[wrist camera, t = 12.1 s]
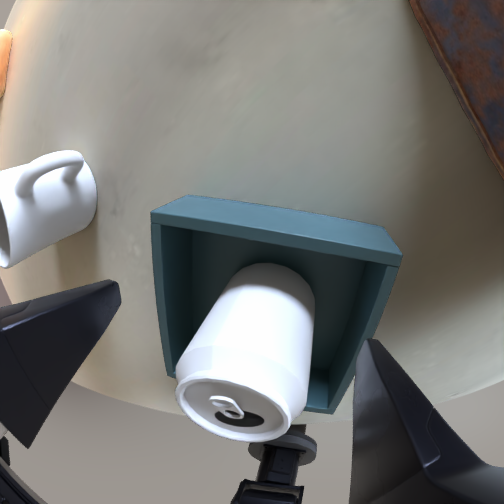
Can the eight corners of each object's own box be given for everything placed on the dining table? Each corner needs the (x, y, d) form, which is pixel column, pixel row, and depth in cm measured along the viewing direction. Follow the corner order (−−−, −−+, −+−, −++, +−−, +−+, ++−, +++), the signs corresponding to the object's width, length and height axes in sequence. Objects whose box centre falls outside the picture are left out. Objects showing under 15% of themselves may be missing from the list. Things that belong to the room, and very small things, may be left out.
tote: (334, 372, 25) (332, 414, 20) (189, 341, 28) (166, 375, 23) (383, 226, 19) (403, 254, 14) (187, 194, 21) (150, 211, 16)
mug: (74, 242, 27) (3, 283, 17) (45, 184, 25) (-27, 210, 15) (131, 184, 22) (33, 219, 12) (94, 115, 20) (-1, 122, 11)
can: (243, 337, 25) (197, 443, 14) (216, 267, 23) (137, 366, 12) (322, 327, 23) (312, 450, 12) (304, 249, 20) (284, 367, 10)
